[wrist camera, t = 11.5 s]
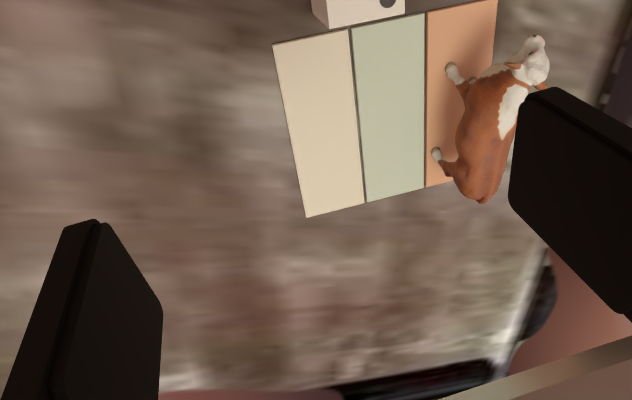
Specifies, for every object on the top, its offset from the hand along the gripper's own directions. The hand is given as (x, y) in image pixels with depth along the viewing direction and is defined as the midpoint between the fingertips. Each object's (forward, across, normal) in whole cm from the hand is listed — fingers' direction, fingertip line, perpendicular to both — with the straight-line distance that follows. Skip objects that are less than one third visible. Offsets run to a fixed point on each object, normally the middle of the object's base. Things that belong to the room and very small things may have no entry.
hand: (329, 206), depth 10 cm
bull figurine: (+24, -16, +12) cm, 31 cm away
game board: (+24, -10, +12) cm, 29 cm away
